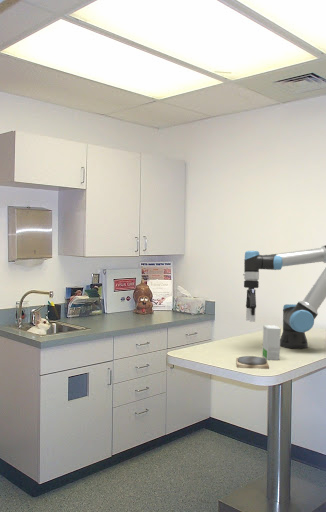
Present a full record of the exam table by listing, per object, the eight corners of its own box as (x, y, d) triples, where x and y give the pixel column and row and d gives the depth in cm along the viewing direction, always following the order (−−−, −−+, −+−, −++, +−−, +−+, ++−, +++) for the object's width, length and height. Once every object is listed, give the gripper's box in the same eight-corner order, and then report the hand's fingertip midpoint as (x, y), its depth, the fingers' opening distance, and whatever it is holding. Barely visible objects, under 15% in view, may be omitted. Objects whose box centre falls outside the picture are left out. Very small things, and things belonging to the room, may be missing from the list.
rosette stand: (266, 361, 229) (266, 356, 229) (268, 368, 215) (269, 363, 215) (236, 360, 231) (236, 355, 231) (237, 367, 217) (237, 362, 217)
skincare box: (262, 356, 241) (262, 325, 240) (275, 356, 241) (275, 325, 241) (267, 360, 232) (267, 327, 232) (280, 360, 233) (281, 327, 233)
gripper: (241, 280, 267) (240, 319, 265) (247, 279, 242) (246, 322, 240) (255, 281, 266) (254, 320, 264) (262, 279, 241) (261, 322, 240)
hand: (250, 321), depth 252 cm, fingers open, 13 cm apart
